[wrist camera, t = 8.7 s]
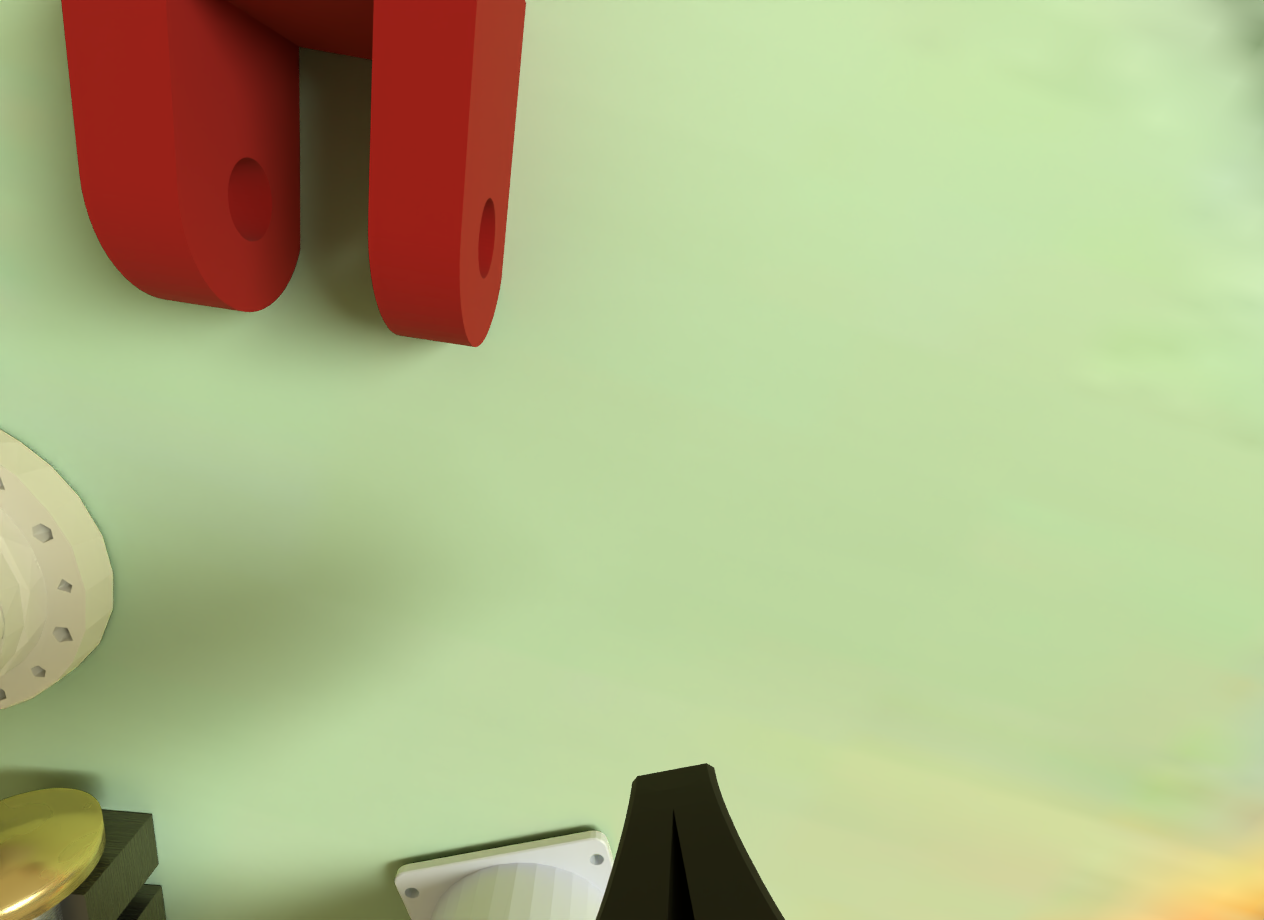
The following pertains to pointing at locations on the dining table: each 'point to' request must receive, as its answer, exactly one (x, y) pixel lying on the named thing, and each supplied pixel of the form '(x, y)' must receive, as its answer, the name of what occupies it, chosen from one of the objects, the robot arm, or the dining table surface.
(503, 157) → the mechanical linkage
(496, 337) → the dining table surface
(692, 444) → the dining table surface
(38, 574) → the mechanical component
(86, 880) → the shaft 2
